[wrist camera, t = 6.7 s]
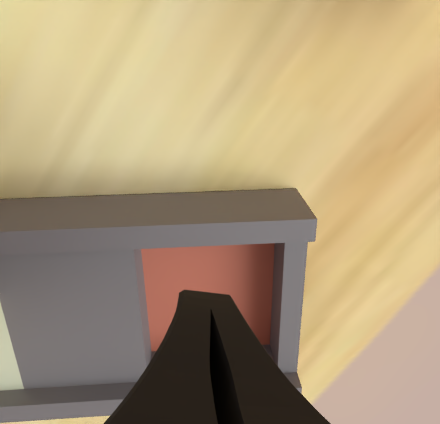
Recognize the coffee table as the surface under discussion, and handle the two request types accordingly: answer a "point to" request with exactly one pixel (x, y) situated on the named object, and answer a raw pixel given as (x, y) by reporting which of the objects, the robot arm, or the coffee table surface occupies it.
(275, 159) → the coffee table surface
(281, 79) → the coffee table surface
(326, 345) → the coffee table surface
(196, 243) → the trap runway
